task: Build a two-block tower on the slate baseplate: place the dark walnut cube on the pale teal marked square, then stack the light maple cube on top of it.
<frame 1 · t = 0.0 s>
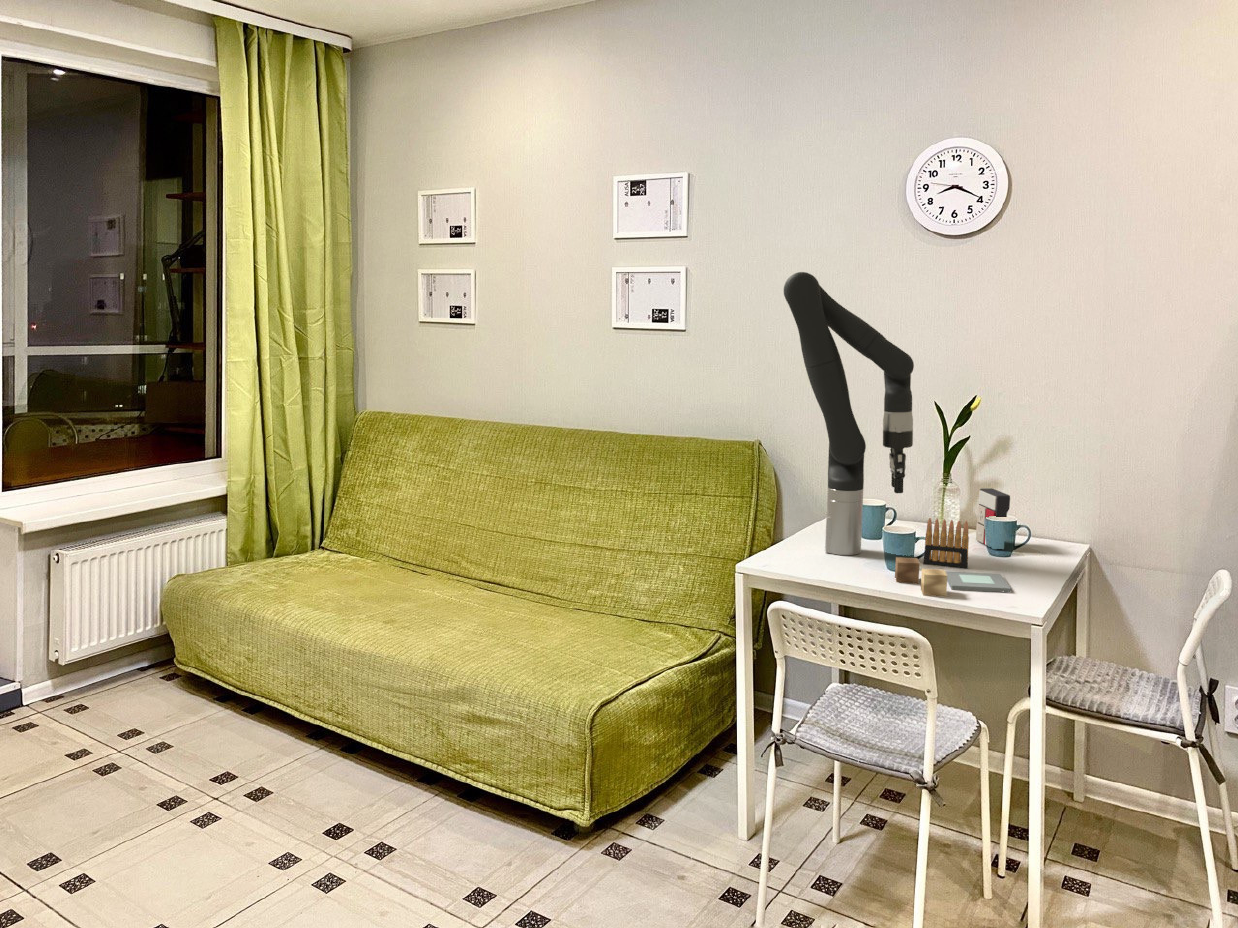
hand: (897, 490, 265), 17 cm above the table, tool pointing down, fingers open, 8 cm apart
walnut block: (906, 580, 243), on the table
calculator: (990, 546, 278), on the table
baseplate: (976, 583, 240), on the table
ammunition clip: (945, 566, 256), on the table
maple block: (933, 593, 232), on the table
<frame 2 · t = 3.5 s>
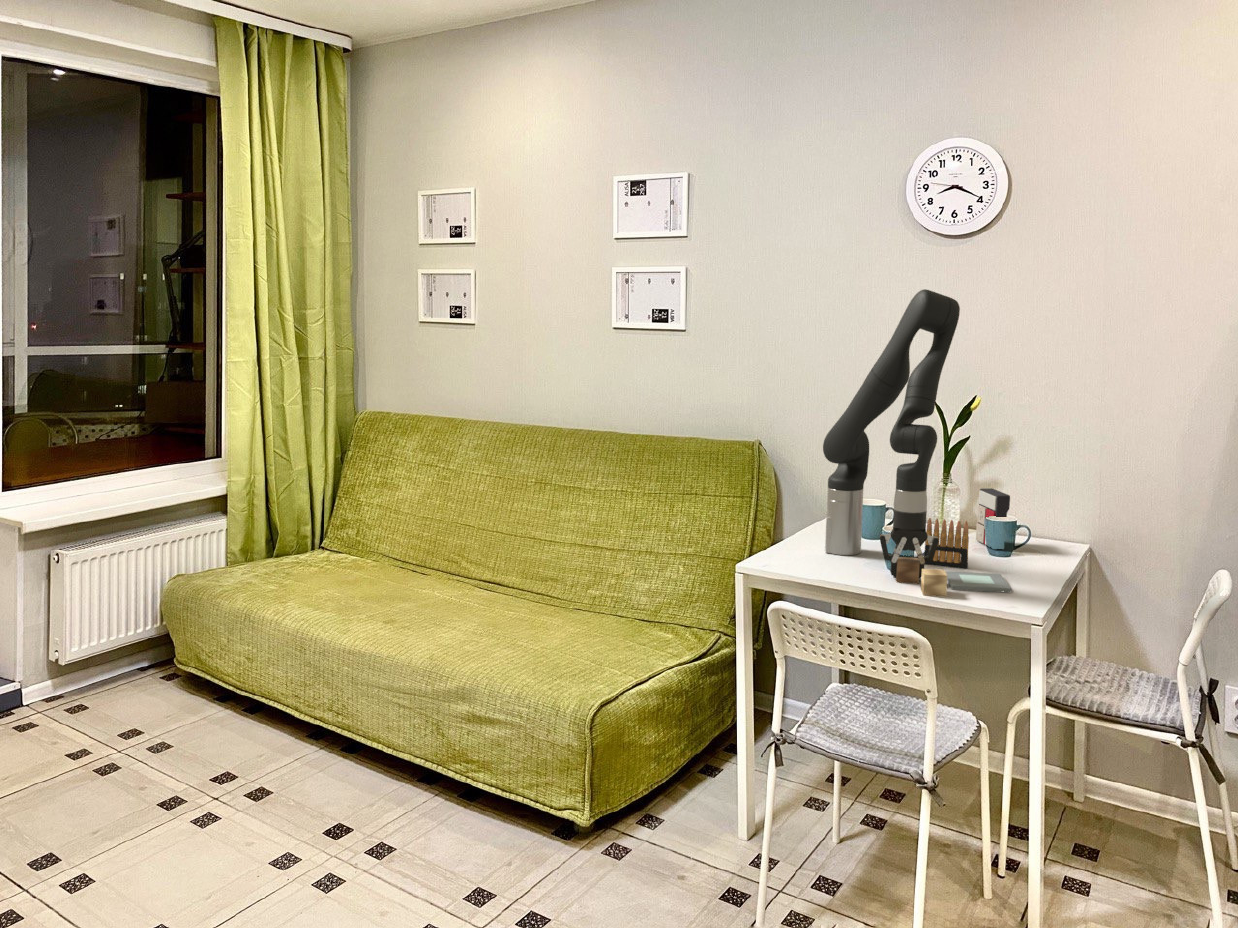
hand: (906, 577, 242), 1 cm above the table, tool pointing down, fingers closed on walnut block, 5 cm apart
walnut block: (906, 580, 243), on the table, touching gripper
everything else where it was.
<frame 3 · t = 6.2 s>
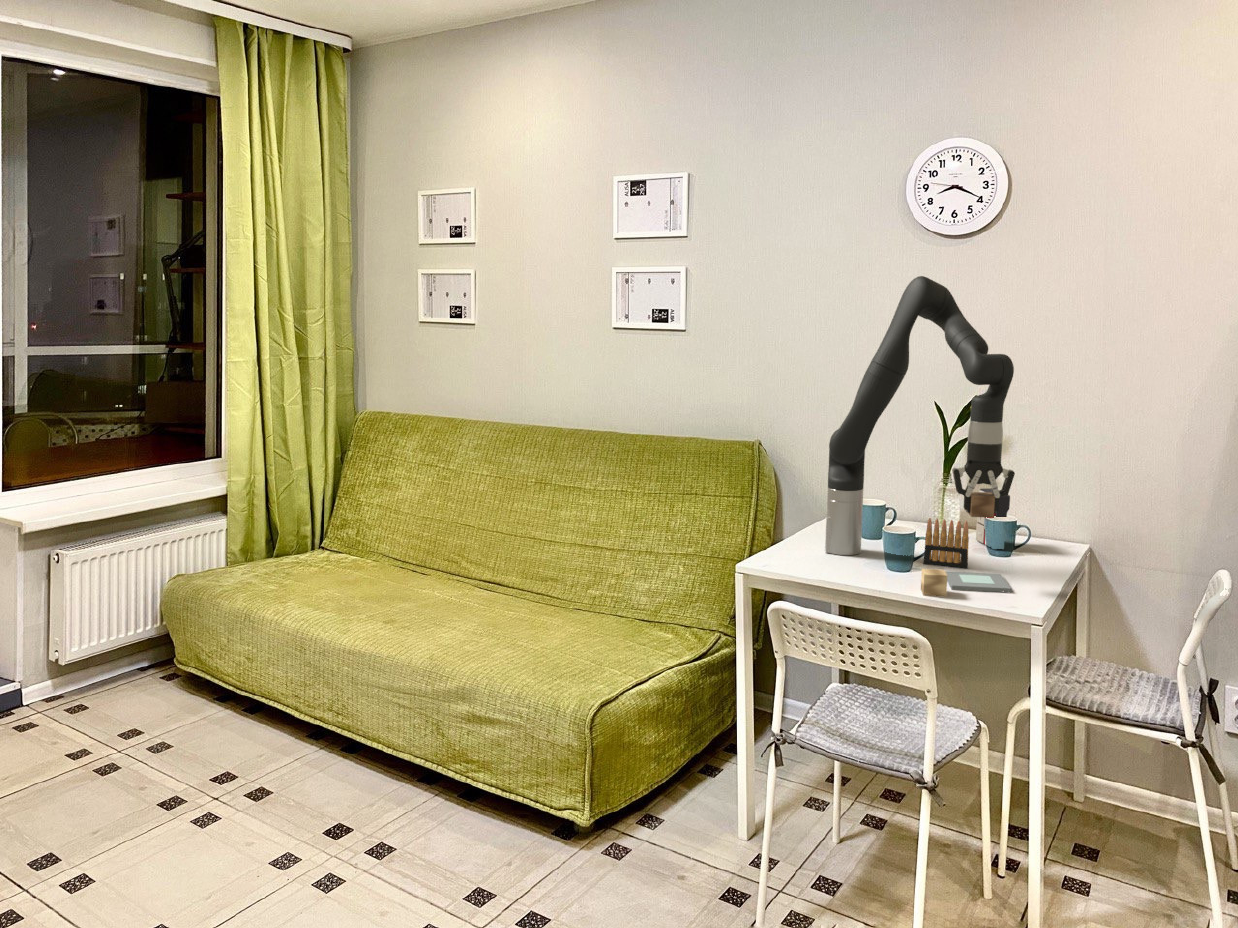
hand: (980, 512, 237), 17 cm above the table, tool pointing down, fingers closed on walnut block, 5 cm apart
walnut block: (980, 515, 237), point 17 cm above the table, touching gripper
everything else where it was.
when the fingers open (3 cm above the table, at t = 9.2 s): walnut block drops 1 cm, resting on baseplate.
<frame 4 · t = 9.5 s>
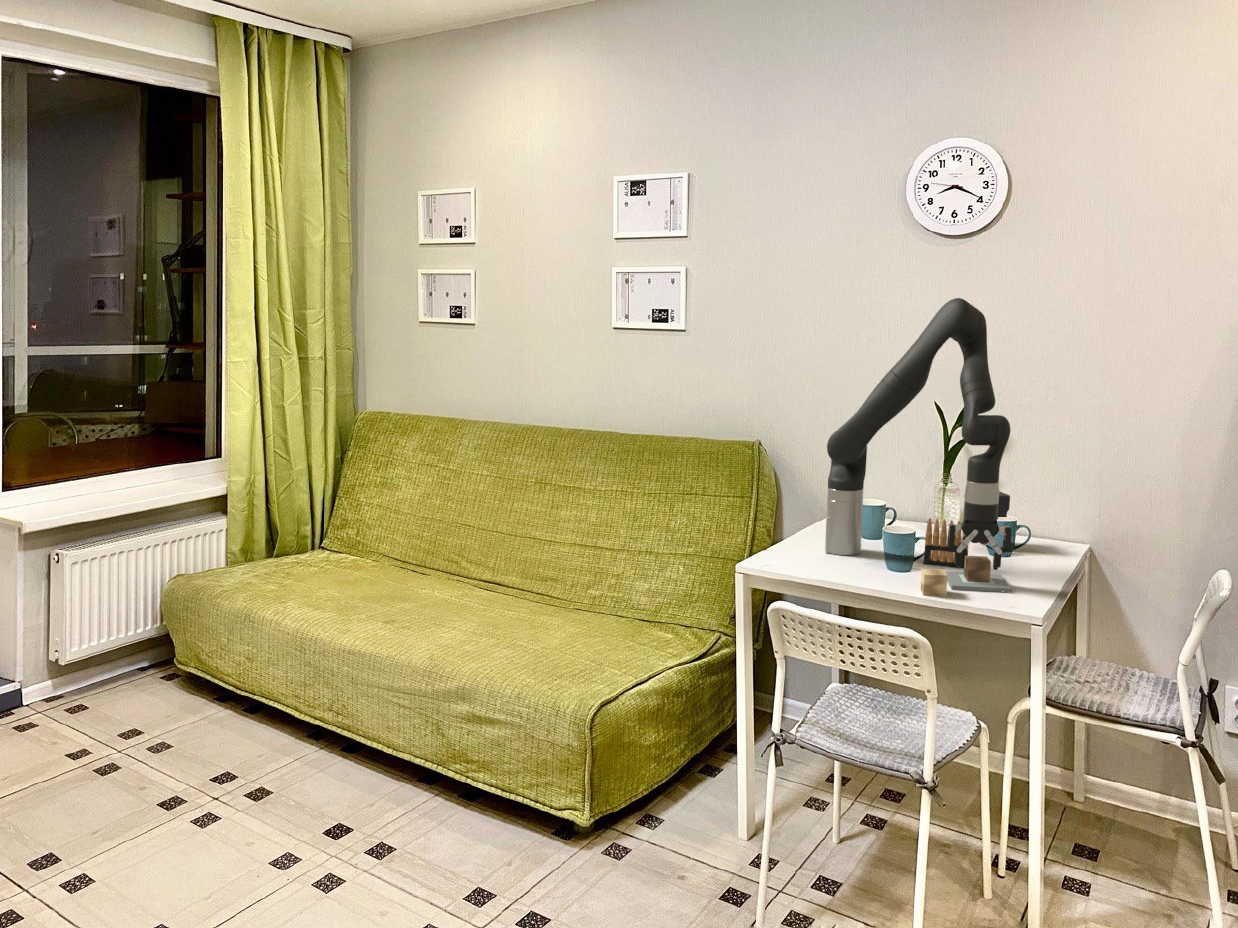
hand: (977, 568, 239), 4 cm above the table, tool pointing down, fingers open, 7 cm apart
walnut block: (976, 579, 239), point 1 cm above the table, touching baseplate
everything else where it was.
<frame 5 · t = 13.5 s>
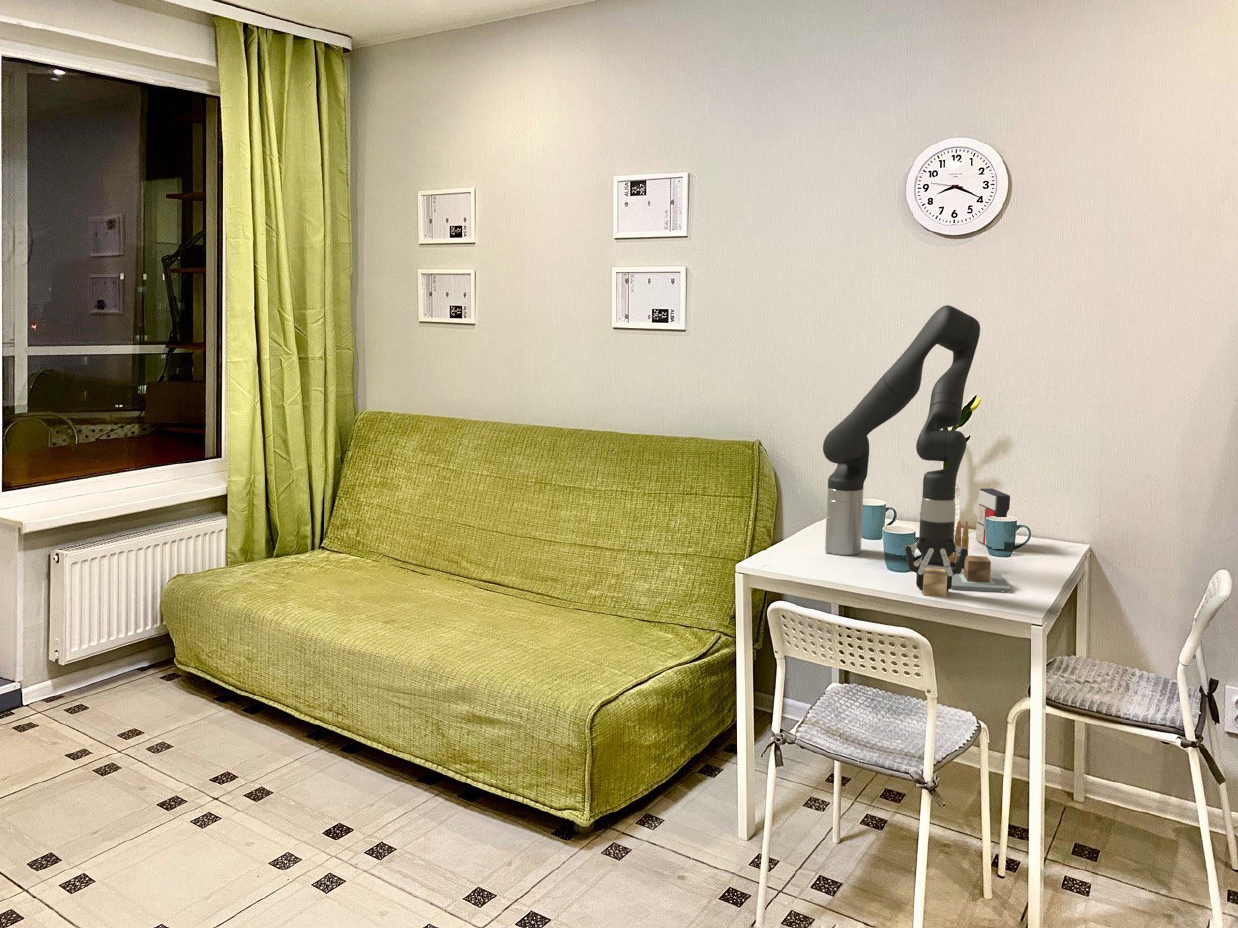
hand: (933, 589, 232), 1 cm above the table, tool pointing down, fingers closed on maple block, 5 cm apart
maple block: (933, 592, 232), on the table, touching gripper
everything else where it was.
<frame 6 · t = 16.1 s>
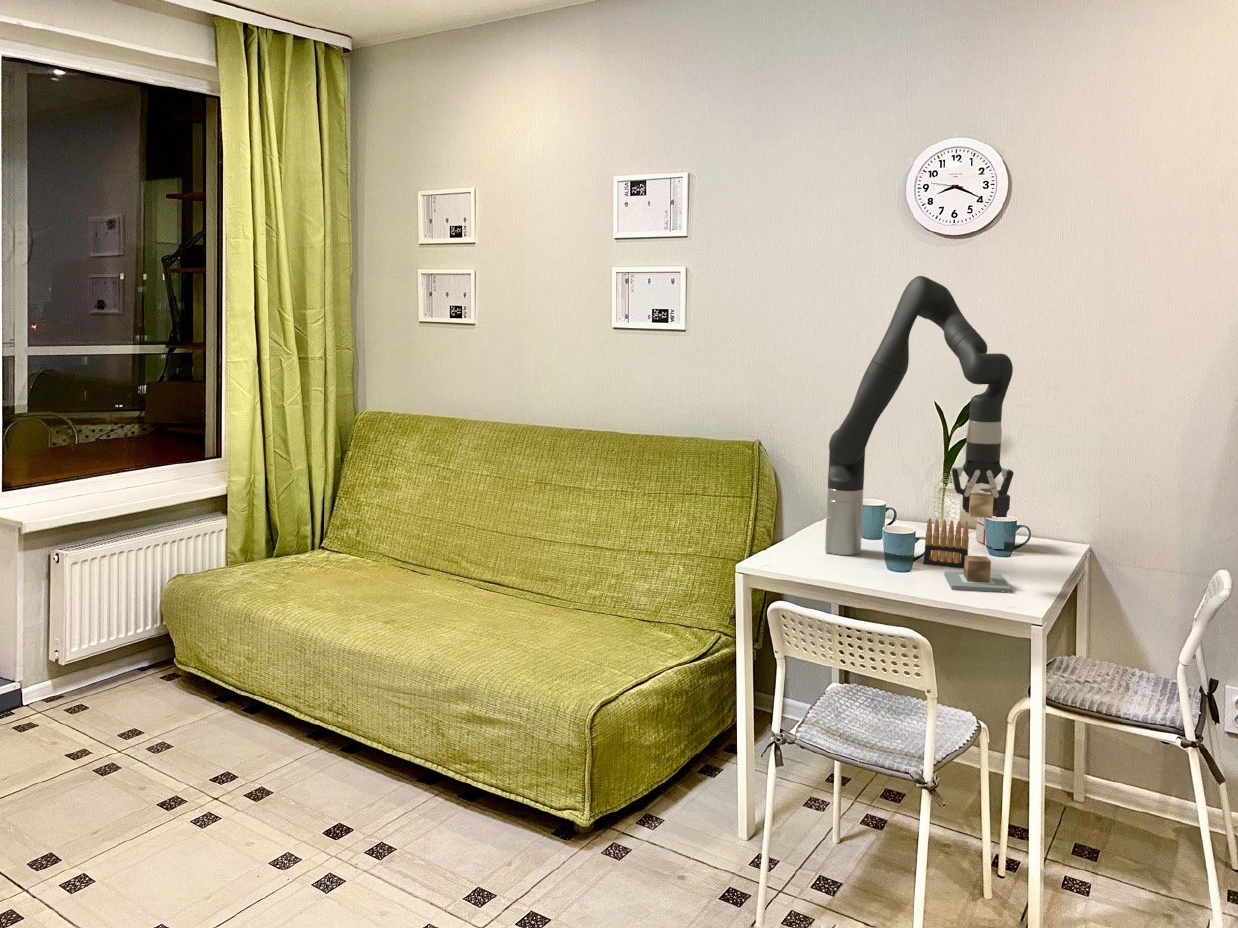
hand: (979, 511, 237), 17 cm above the table, tool pointing down, fingers closed on maple block, 5 cm apart
maple block: (979, 515, 237), point 17 cm above the table, touching gripper
everything else where it was.
when the fingers open (8 cm above the table, at t = 18.8 s): maple block drops 1 cm, resting on walnut block.
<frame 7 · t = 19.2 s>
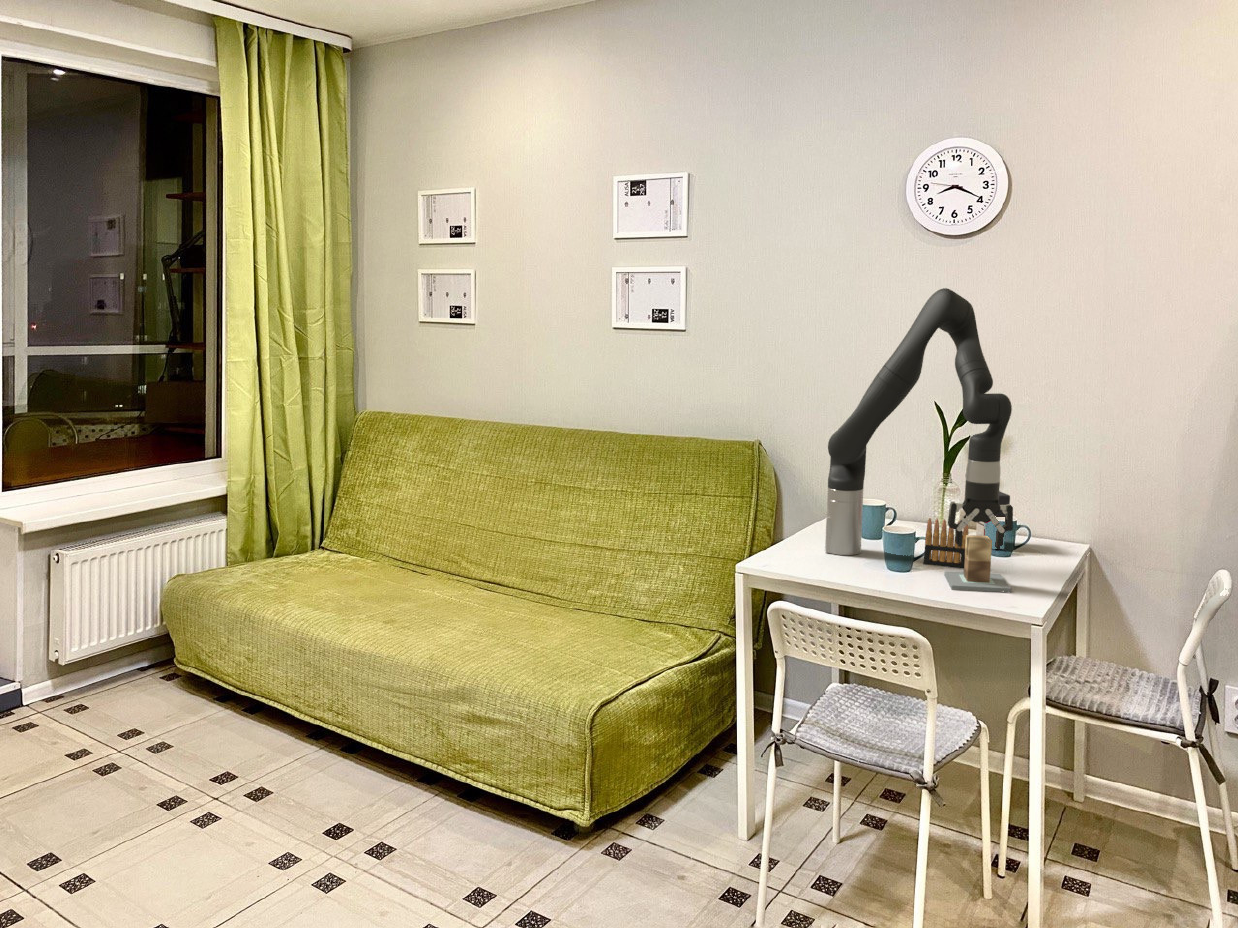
hand: (978, 546, 238), 9 cm above the table, tool pointing down, fingers open, 8 cm apart
walnut block: (976, 579, 239), point 1 cm above the table, touching baseplate, maple block
maple block: (977, 558, 239), point 6 cm above the table, touching walnut block
everything else where it was.
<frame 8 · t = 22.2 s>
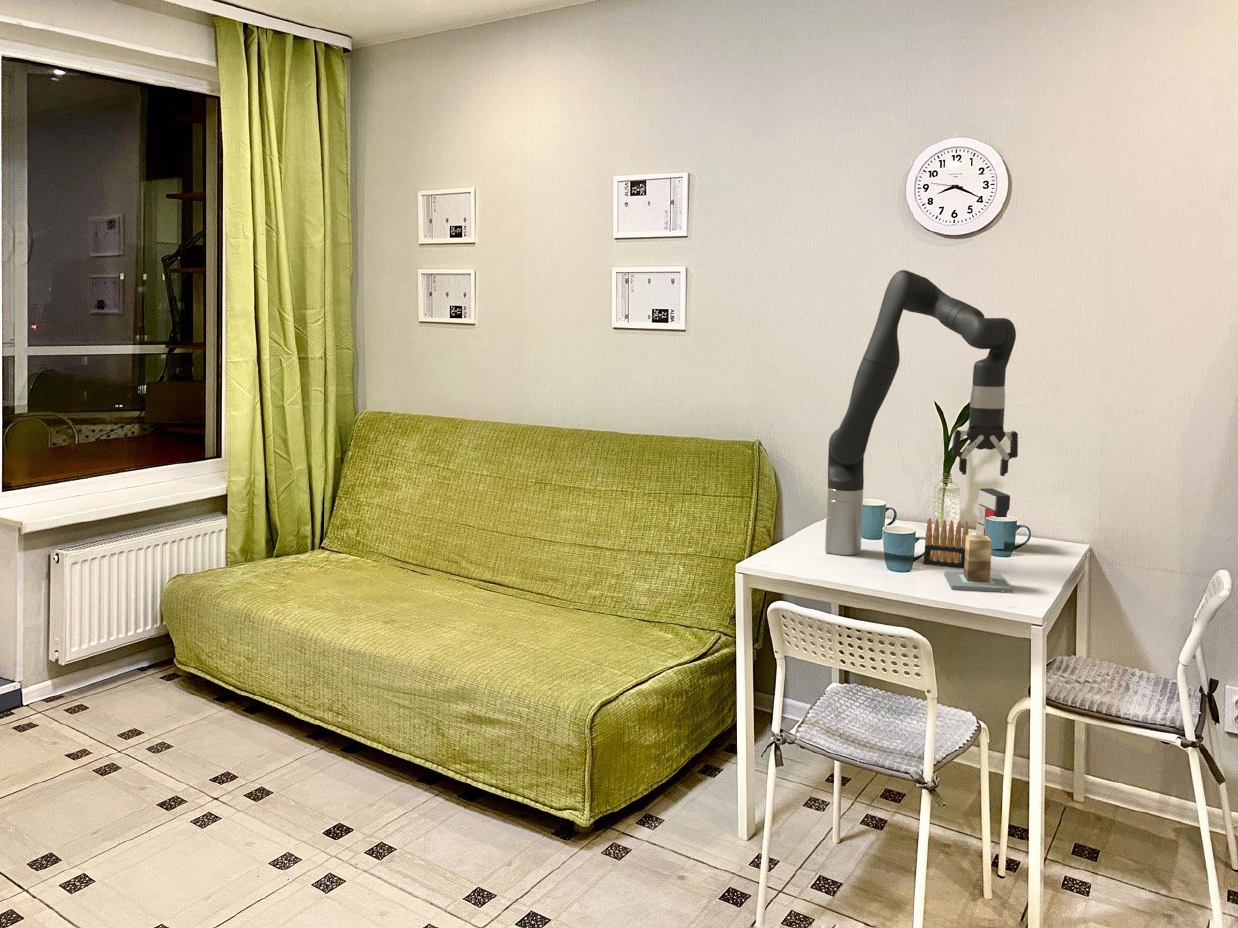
hand: (983, 474, 236), 26 cm above the table, tool pointing down, fingers open, 8 cm apart
nothing on the table moved.
at the end: walnut block 0.0 cm off-centre on the baseplate, point 1.1 cm above the baseplate's base; maple block 0.0 cm off-centre on the walnut block, point 5.0 cm above the walnut block's base; maple block tilted 0° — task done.
